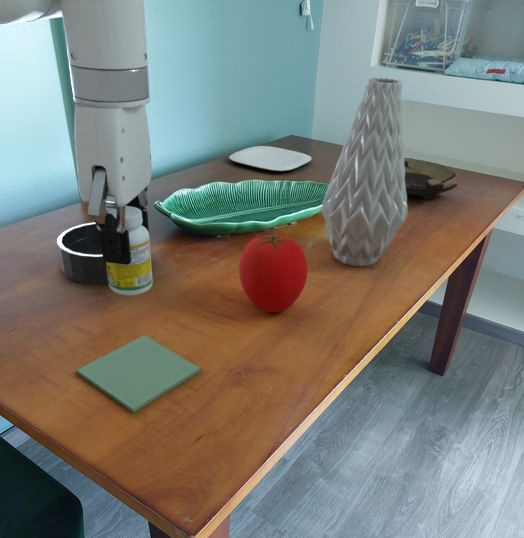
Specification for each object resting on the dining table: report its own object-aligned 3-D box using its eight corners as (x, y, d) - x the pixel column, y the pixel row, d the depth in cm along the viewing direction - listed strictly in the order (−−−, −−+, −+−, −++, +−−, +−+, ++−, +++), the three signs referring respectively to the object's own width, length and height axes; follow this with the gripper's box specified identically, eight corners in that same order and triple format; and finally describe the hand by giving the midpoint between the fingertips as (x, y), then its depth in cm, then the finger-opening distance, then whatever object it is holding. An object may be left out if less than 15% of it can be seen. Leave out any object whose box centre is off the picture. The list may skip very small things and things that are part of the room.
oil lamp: (453, 182, 155) (460, 155, 151) (453, 217, 131) (461, 186, 127) (377, 171, 160) (381, 145, 155) (363, 203, 136) (368, 173, 131)
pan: (96, 294, 92) (92, 265, 88) (45, 265, 99) (39, 237, 96) (165, 265, 102) (163, 238, 99) (113, 241, 109) (110, 215, 106)
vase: (399, 281, 102) (441, 92, 83) (312, 270, 103) (334, 83, 85) (395, 245, 115) (431, 77, 96) (319, 236, 117) (339, 69, 98)
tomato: (316, 312, 91) (326, 241, 83) (267, 331, 85) (272, 258, 77) (274, 285, 98) (279, 218, 90) (226, 302, 92) (227, 231, 84)
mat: (133, 413, 68) (133, 409, 67) (76, 373, 74) (76, 369, 73) (200, 371, 75) (200, 367, 75) (144, 338, 81) (144, 335, 81)
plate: (283, 178, 149) (284, 172, 148) (220, 163, 158) (220, 157, 157) (318, 161, 165) (319, 156, 164) (258, 148, 174) (259, 143, 173)
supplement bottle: (150, 296, 65) (145, 221, 59) (105, 296, 64) (95, 220, 59) (154, 276, 69) (149, 204, 64) (112, 275, 69) (103, 202, 63)
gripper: (109, 70, 61) (124, 221, 71) (32, 96, 47) (64, 279, 58) (172, 76, 60) (178, 228, 71) (113, 104, 46) (131, 288, 57)
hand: (127, 250), depth 64 cm, fingers closed on supplement bottle, 5 cm apart
